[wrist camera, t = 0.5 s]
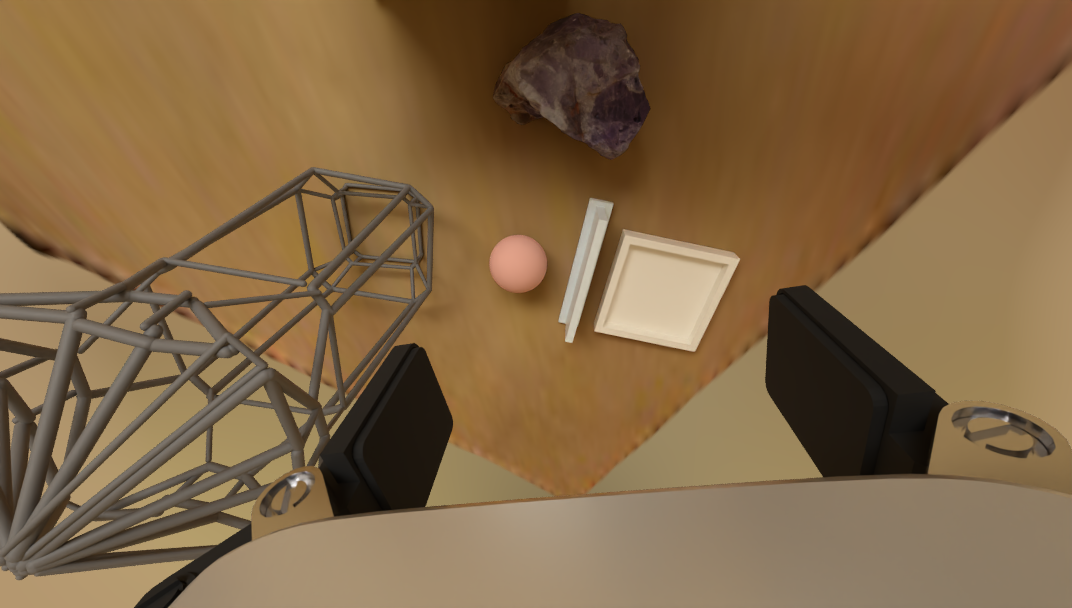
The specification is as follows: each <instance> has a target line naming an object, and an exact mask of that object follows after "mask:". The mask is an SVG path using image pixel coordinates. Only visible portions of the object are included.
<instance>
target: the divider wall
mask: <svg viewBox="0 0 1072 608" xmlns="http://www.w3.org/2000/svg"><path fill="white" fill-rule="evenodd" d="M612 208H613V202H609V201H604V200H600V199H595V198H590V200H589V203H588V207H587V211H586V215H585V219H584V223H583V227H582V231H581V234H580V238H579V242H578V246H577V250H576V254H575V258H574V261H573V265H572V269H571V273H570V277H569V281H568V285H567V289H566V292H565V296H564V300H563V304H562V308H561V312H560V316H559V320H558V322H561V323H566V331H565V342H570V343H572V342H573V339H574V335H575V332H576V328H577V326H578V325H579V321H580V318H581V314H582V311H583V307H584V304H585V301H586V297H587V294H588V290H589V287H590V283H591V280H592V277H593V273H594V270H595V266H596V263H597V259H598V256H599V253H600V249H601V246H602V242H603V239H604V235H605V232H606V228H607V225H608V222H609V218H610V215H611V211H612Z"/></svg>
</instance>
